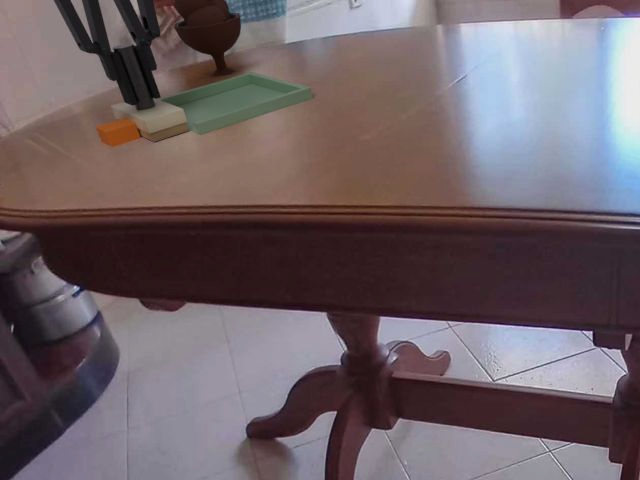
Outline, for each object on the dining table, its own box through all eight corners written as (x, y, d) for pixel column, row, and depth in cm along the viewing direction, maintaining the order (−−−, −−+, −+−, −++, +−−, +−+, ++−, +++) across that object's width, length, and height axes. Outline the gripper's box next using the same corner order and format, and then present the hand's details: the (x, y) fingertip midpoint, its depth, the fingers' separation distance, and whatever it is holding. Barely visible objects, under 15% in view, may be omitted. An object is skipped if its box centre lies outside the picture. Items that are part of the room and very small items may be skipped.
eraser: (104, 148, 97) (95, 126, 95) (132, 139, 99) (124, 118, 97) (115, 153, 94) (105, 131, 93) (143, 144, 97) (135, 122, 95)
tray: (150, 119, 106) (144, 102, 105) (255, 87, 116) (251, 71, 114) (203, 141, 95) (197, 123, 94) (314, 104, 105) (310, 87, 103)
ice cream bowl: (248, 84, 118) (219, -15, 109) (183, 90, 118) (150, -8, 110) (264, 67, 126) (238, -26, 118) (203, 73, 127) (174, -19, 118)
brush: (118, 126, 101) (85, 45, 95) (154, 115, 104) (125, 36, 97) (153, 142, 93) (120, 56, 87) (191, 130, 96) (161, 46, 90)
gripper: (4, -94, 76) (95, 121, 90) (144, -111, 84) (207, 88, 98) (-14, -93, 81) (75, 111, 94) (121, -110, 89) (184, 81, 103)
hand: (142, 99), depth 96 cm, fingers closed on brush, 3 cm apart
